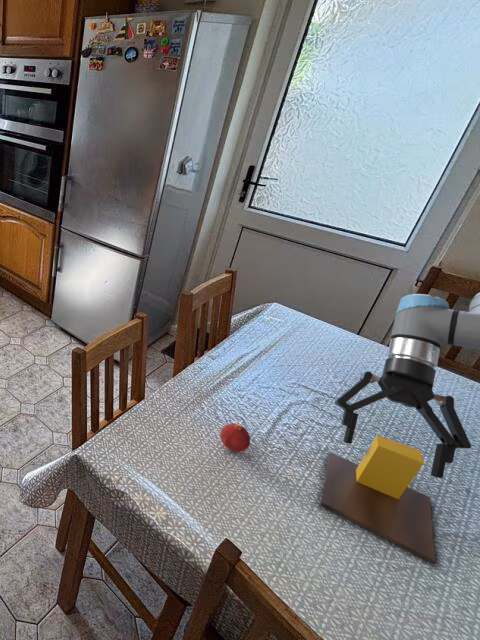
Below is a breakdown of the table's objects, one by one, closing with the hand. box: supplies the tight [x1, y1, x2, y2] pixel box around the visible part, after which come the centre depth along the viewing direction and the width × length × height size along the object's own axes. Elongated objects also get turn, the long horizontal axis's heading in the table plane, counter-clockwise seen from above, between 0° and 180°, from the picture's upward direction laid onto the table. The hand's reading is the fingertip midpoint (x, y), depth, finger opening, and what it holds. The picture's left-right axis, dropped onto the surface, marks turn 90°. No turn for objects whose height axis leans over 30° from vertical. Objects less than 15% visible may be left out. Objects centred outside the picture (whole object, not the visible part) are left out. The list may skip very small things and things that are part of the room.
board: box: [320, 452, 436, 564], centre depth 84 cm, size 16×16×1 cm
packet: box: [356, 434, 424, 499], centre depth 84 cm, size 6×4×11 cm, turn 52°
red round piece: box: [219, 422, 251, 452], centre depth 95 cm, size 6×6×8 cm
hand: (389, 459), depth 85 cm, fingers open, 13 cm apart
